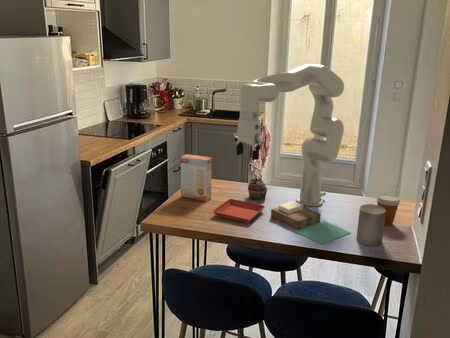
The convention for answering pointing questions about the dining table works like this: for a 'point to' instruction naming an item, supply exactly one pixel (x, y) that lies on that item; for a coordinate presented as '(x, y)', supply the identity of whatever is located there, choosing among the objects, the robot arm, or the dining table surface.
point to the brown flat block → (296, 218)
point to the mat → (322, 232)
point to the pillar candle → (371, 224)
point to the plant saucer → (238, 210)
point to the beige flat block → (290, 207)
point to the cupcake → (257, 189)
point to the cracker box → (196, 177)
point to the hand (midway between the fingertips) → (247, 156)
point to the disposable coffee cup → (388, 207)
